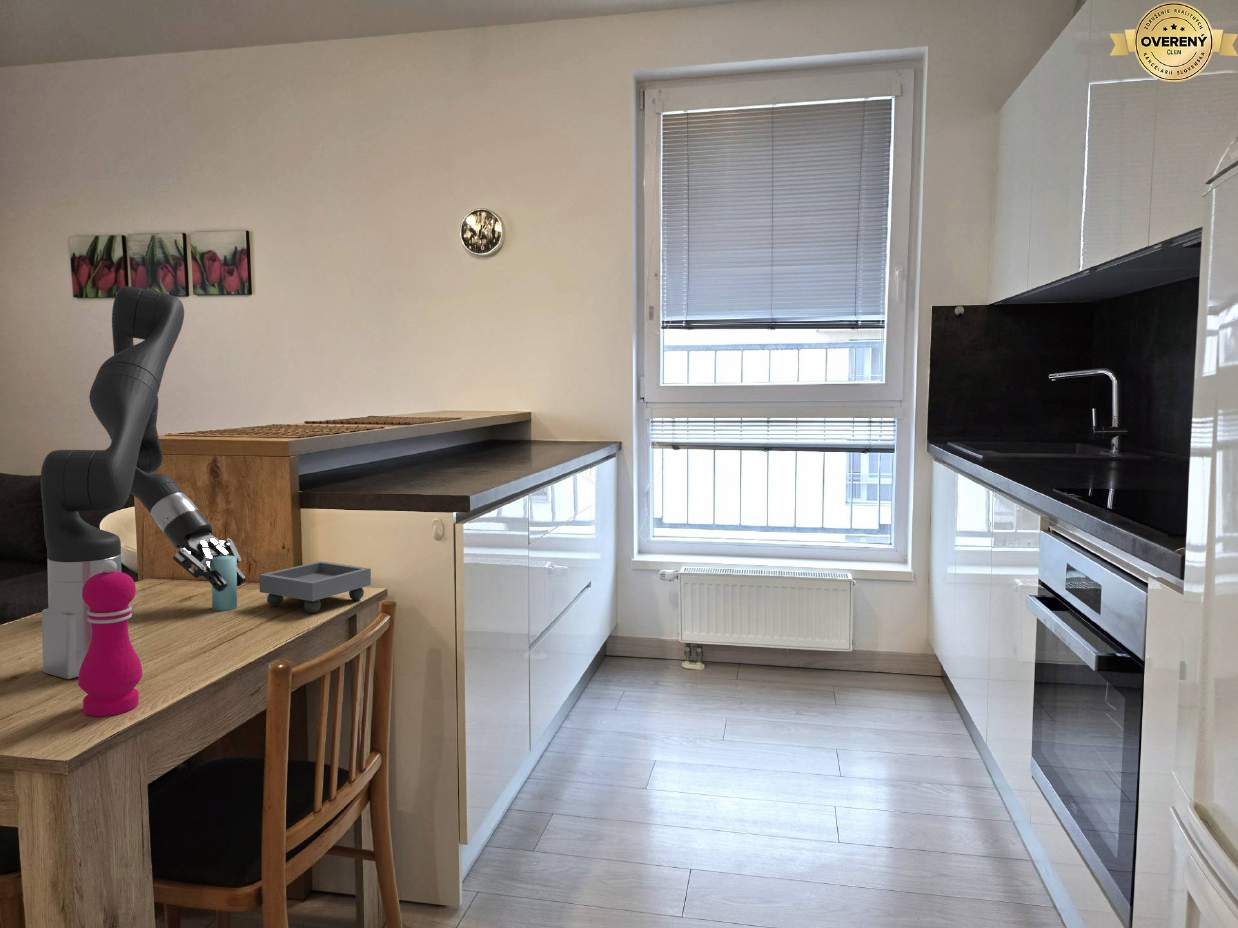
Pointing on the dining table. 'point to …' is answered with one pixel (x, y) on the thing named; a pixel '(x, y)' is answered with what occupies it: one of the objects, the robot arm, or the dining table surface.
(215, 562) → the teal cylinder
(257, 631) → the dining table surface
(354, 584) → the grey square tray
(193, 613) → the dining table surface
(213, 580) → the robot arm
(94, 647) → the pepper mill
